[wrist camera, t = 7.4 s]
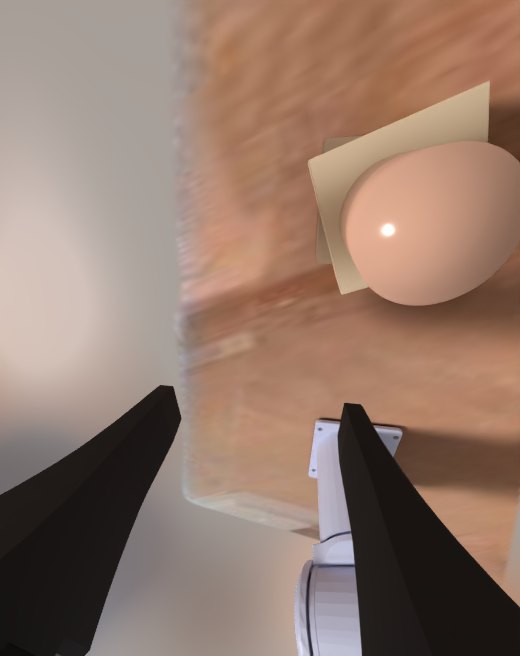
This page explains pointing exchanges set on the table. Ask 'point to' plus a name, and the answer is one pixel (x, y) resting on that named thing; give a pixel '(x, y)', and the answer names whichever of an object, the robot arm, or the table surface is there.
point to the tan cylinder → (433, 220)
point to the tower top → (401, 136)
